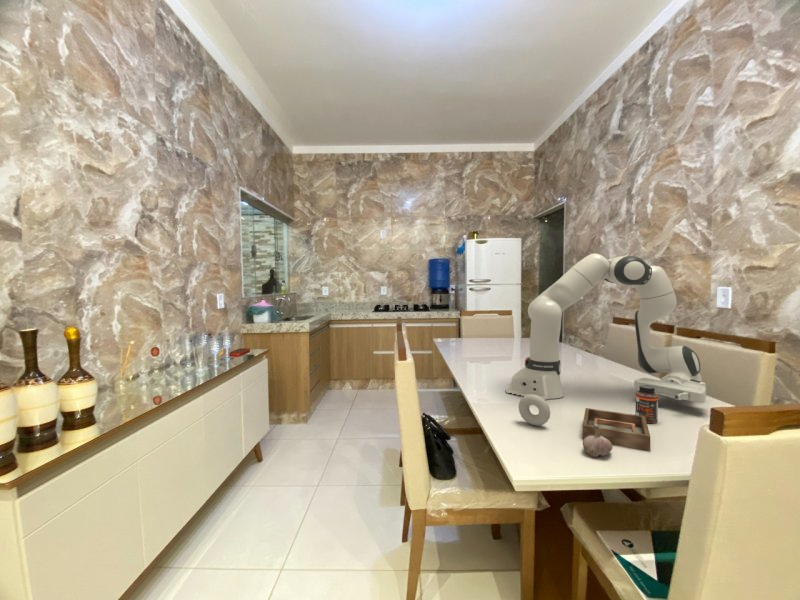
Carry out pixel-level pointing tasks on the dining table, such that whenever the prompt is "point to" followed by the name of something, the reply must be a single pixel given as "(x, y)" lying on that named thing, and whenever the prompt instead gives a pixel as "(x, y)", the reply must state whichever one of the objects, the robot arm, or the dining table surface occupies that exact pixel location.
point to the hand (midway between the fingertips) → (660, 393)
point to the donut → (540, 404)
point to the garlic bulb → (597, 444)
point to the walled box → (618, 428)
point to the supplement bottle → (647, 403)
